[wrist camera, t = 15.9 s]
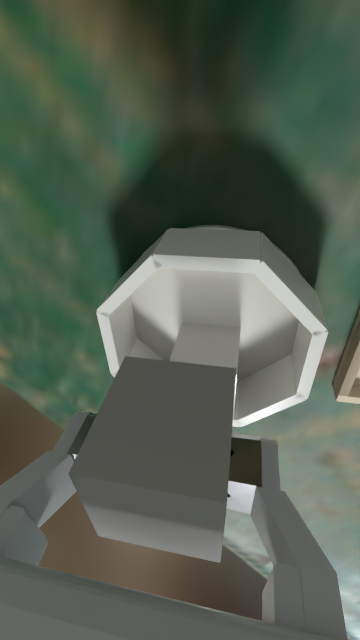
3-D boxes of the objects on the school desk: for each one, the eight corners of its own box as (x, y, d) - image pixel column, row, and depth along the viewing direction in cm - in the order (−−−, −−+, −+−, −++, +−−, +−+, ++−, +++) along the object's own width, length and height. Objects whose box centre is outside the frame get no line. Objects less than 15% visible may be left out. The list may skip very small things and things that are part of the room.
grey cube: (240, 327, 21) (237, 374, 17) (236, 370, 23) (233, 419, 20) (181, 322, 22) (167, 367, 18) (184, 364, 24) (171, 410, 21)
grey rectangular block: (236, 368, 11) (226, 503, 7) (229, 436, 13) (220, 562, 10) (125, 355, 11) (68, 474, 8) (138, 423, 14) (98, 536, 10)
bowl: (330, 228, 17) (349, 264, 13) (291, 385, 24) (296, 435, 21) (113, 221, 19) (82, 250, 16) (137, 367, 26) (119, 409, 23)
